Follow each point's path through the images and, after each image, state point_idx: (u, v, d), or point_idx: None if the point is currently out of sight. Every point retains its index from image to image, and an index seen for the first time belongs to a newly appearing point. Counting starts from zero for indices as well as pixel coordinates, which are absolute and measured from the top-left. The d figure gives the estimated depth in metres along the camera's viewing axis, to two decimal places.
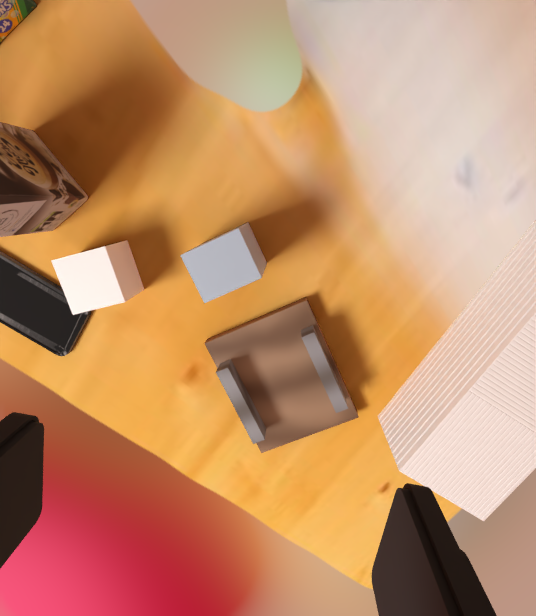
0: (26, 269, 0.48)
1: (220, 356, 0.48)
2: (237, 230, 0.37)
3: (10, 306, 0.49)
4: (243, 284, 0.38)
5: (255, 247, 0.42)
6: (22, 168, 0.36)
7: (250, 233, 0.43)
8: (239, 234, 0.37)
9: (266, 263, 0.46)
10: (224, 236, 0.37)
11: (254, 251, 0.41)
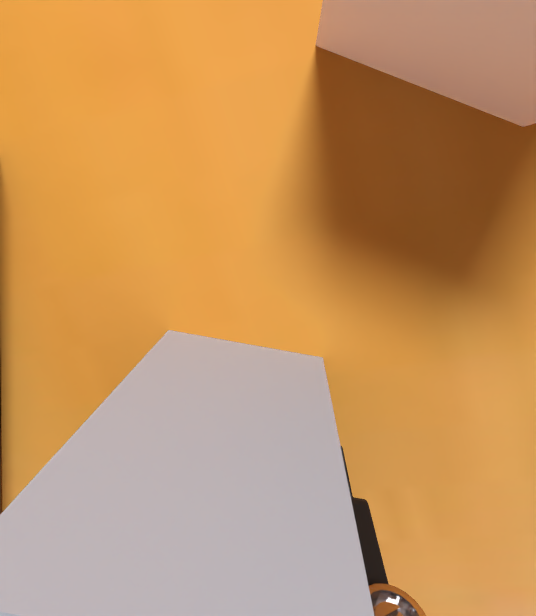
0: None
1: None
2: None
3: None
4: None
5: None
6: None
7: None
8: None
9: None
10: None
11: None
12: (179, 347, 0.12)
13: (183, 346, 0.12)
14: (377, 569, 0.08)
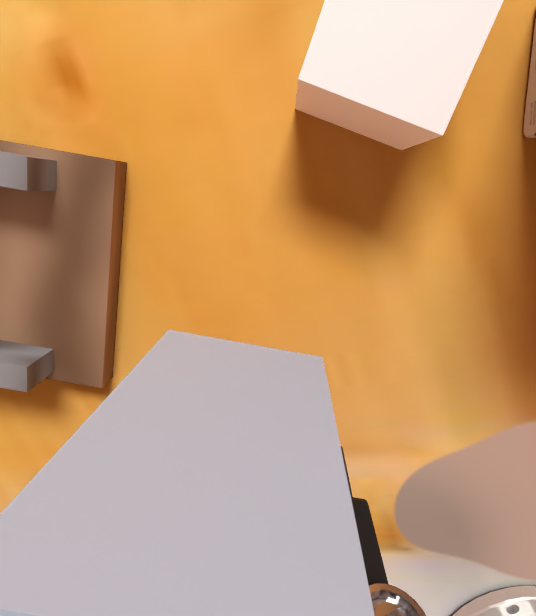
0: None
1: (71, 173, 0.21)
2: None
3: None
4: None
5: None
6: None
7: None
8: None
9: None
10: None
11: None
12: (179, 346, 0.12)
13: (183, 345, 0.12)
14: (377, 569, 0.08)
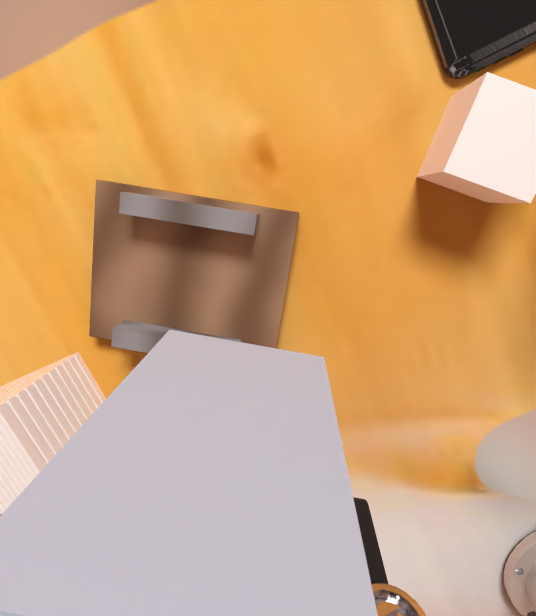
0: None
1: (268, 221, 0.32)
2: None
3: None
4: None
5: None
6: None
7: None
8: None
9: None
10: None
11: None
12: (180, 346, 0.12)
13: (184, 345, 0.12)
14: (377, 569, 0.08)
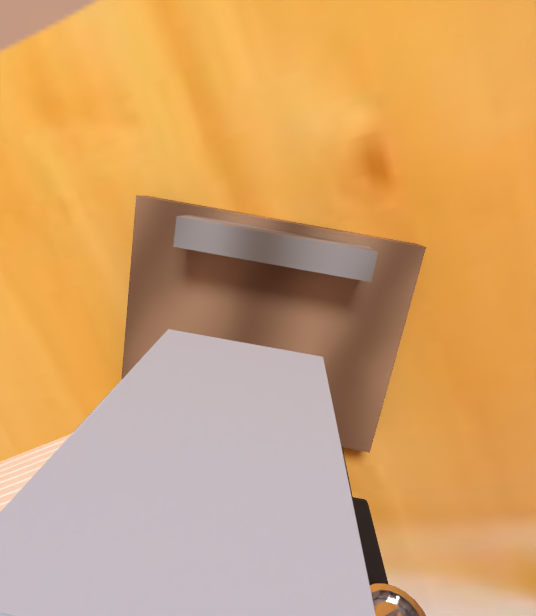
0: None
1: (381, 258, 0.22)
2: None
3: None
4: None
5: None
6: None
7: None
8: None
9: None
10: None
11: None
12: (179, 345, 0.12)
13: (183, 345, 0.12)
14: (377, 569, 0.08)
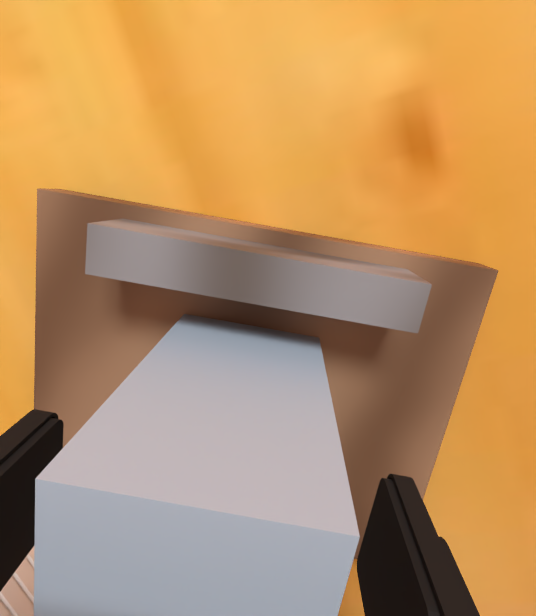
0: None
1: None
2: None
3: None
4: None
5: None
6: None
7: None
8: None
9: None
10: None
11: None
12: (194, 327, 0.14)
13: (197, 326, 0.14)
14: None
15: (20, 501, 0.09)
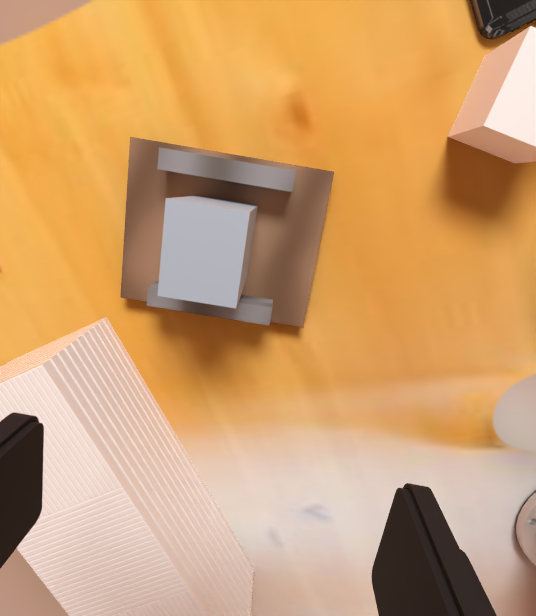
0: None
1: (303, 180, 0.32)
2: (234, 305, 0.26)
3: None
4: (161, 268, 0.25)
5: None
6: None
7: None
8: (227, 304, 0.26)
9: None
10: (237, 285, 0.25)
11: None
12: (201, 197, 0.31)
13: (202, 197, 0.31)
14: None
15: None
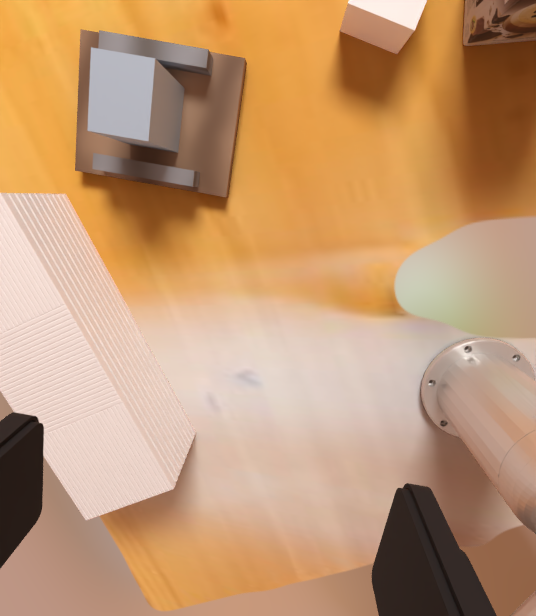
0: None
1: (220, 65, 0.39)
2: (146, 138, 0.33)
3: None
4: (90, 106, 0.32)
5: (140, 144, 0.38)
6: None
7: (159, 148, 0.39)
8: (141, 138, 0.33)
9: (127, 143, 0.41)
10: (148, 121, 0.32)
11: (130, 140, 0.36)
12: None
13: None
14: None
15: None
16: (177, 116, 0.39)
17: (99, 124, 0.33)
